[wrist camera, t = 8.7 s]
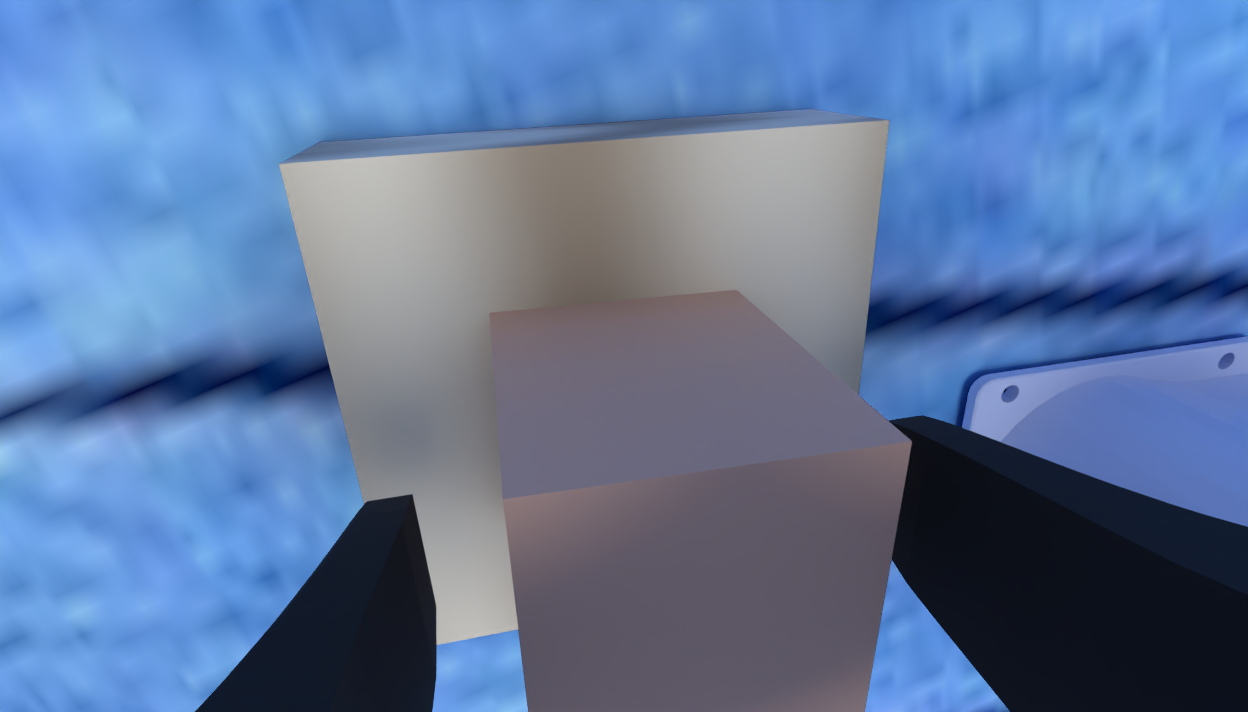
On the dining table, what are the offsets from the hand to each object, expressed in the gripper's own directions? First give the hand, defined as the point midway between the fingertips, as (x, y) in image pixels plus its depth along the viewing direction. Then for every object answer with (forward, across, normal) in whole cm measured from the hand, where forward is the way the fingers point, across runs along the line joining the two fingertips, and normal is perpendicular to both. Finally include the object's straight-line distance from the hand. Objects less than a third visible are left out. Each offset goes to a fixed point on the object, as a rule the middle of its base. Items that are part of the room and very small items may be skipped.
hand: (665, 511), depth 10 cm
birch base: (+6, 0, 0) cm, 6 cm away
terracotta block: (+3, 0, 0) cm, 3 cm away
